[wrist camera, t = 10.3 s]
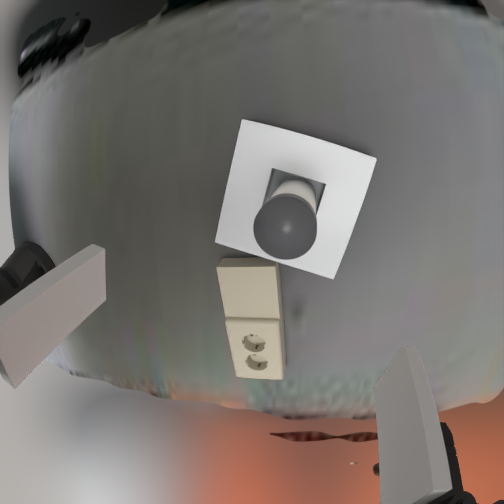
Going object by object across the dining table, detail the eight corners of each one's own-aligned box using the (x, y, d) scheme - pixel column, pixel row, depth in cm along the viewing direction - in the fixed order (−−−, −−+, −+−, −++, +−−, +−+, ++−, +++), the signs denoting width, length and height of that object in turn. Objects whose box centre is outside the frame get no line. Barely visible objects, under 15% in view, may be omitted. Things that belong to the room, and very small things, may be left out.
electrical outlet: (273, 270, 34) (283, 381, 41) (278, 255, 38) (286, 362, 44) (214, 270, 36) (235, 378, 42) (223, 257, 39) (242, 360, 46)
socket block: (224, 232, 37) (214, 242, 34) (249, 120, 31) (242, 119, 28) (332, 265, 36) (333, 279, 33) (370, 155, 30) (376, 158, 27)
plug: (270, 209, 34) (246, 249, 24) (280, 170, 32) (261, 190, 22) (310, 222, 34) (305, 267, 23) (322, 182, 32) (325, 210, 21)
